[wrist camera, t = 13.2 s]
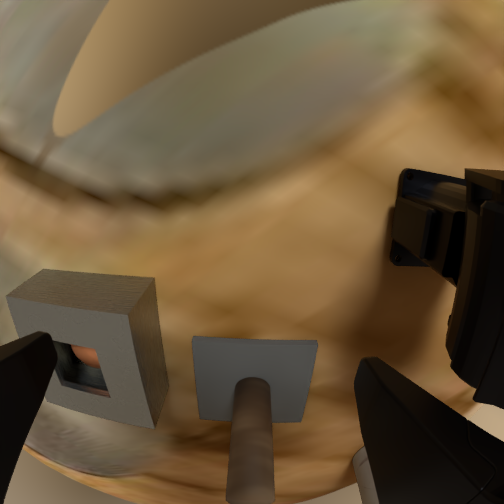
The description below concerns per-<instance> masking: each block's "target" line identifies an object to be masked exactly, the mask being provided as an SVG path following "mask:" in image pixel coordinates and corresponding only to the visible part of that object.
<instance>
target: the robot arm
mask: <svg viewBox="0 0 504 504" xmlns="http://www.w3.org/2000/svg"><path fill="white" fill-rule="evenodd" d="M408 173H410V175H411V177H410V179H407V174H408ZM391 237H392V238H393V240H392V246H391V252H390V261H391V262H392V263H393V264H394V265H396V266H424V267H431V268H432V269H434V270H435V271H436V272H437V273H439V274H440V275H441V276H442V277H444V278H445V279H446V280H447V281H449V282H450V283H451V284H452V285H454V286H455V287H456V293H455V298H454V303H453V308H452V313H451V315H450V316H449V319H448V330H447V334H446V345H445V346H446V348H447V351H448V354H449V356H450V359H451V360H452V361H451V364H450V367H451V369H452V370H453V371H454V372H455V373H456V374H457V375H458V377H459V378H461V379H462V380H463V381H464V382H466V383H467V384H468V385H470V386H471V387H473V388H475V389H476V391H475V394H474V396H473V400H474V401H475V402H479V403H484V404H490V405H494V406H497V407H499V408H502V409H504V171H500V170H485V169H467V168H465V179H461V178H456V177H452V176H447V175H442V174H437V173H432V172H427V171H421V170H416V169H410V168H405V169H404V170H403V171H402V173H401V179H400V189H399V197H398V198H397V200H396V205H395V213H394V220H393V227H392V233H391ZM397 255H399V258H398V259H397V260H395V258H396V256H397ZM57 361H58V354H57V351H56V348H55V346H54V343H53V340H52V337H51V335H50V334H49V333H47V332H43V331H37V332H34V333H32V334H29V335H27V336H24V337H22V338H19V339H17V340H15V341H12V342H10V343H7V344H5V345H2V346H0V504H3V503H4V499H5V496H6V493H7V490H8V486H9V483H10V480H11V477H12V475H13V472H14V469H15V466H16V463H17V461H18V458H19V455H20V453H21V450H22V448H23V445H24V443H25V440H26V438H27V435H28V433H29V431H30V428H31V426H32V424H33V421H34V419H35V417H36V415H37V412H38V410H39V408H40V406H41V403H42V401H43V399H44V396H45V394H46V391H47V388H48V385H49V382H50V380H51V377H52V374H53V372H54V369H55V367H56V364H57ZM354 390H355V396H356V402H357V409H358V415H359V422H360V428H361V434H362V438H363V442H364V445H365V449H366V453H367V457H368V461H369V464H370V468H371V472H372V476H373V480H374V484H375V488H376V493H377V497H378V501H379V504H504V442H503V441H501V440H499V439H498V438H496V437H494V436H493V435H491V434H489V433H488V432H486V431H484V430H483V429H481V428H480V427H478V426H476V425H475V424H474V423H472V422H471V421H469V420H467V419H466V418H465V417H463V416H462V415H460V414H459V413H457V412H456V411H454V410H453V409H452V408H450V407H449V406H447V405H446V404H444V403H443V402H441V401H440V400H438V399H437V398H435V397H434V396H432V395H431V394H430V393H428V392H427V391H425V390H424V389H422V388H421V387H419V386H418V385H417V384H415V383H414V382H412V381H411V380H409V379H408V378H406V377H405V376H404V375H402V374H401V373H399V372H398V371H396V370H395V369H393V368H392V367H391V366H389V365H388V364H386V363H385V362H383V361H382V360H381V359H379V358H378V357H364V358H362V359H361V361H360V364H359V367H358V370H357V373H356V377H355V380H354Z"/></svg>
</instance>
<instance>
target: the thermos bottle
mask: <svg viewBox="0 0 504 504" xmlns="http://www.w3.org/2000/svg"><path fill="white" fill-rule="evenodd" d="M353 467H354V471H355V475H356V479H357V483H358V486H359V491H360V495H361V499H362V503H363V504H379V501H378V497H377V493H376V488H375V484H374V480H373V476H372V472H371V468H370V464H369V461H368V457H367V453H366V449H365V446H364V447H363V448H361V449H360V450H359V451H358V452H357V453H356V454H355V456H354V458H353Z"/></svg>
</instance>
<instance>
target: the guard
mask: <svg viewBox="0 0 504 504" xmlns="http://www.w3.org/2000/svg"><path fill="white" fill-rule="evenodd" d="M6 299H7V303H8V306H9V309H10V312H11V316H12V319H13V322H14V325H15V328H16V330H17V333H18V336H19V338H22V337H24V336H27V335H29V334H32V333H34V332H37V331H43V332H47V333H49V334H50V335H51V337H52V340H53V343H54V346H55V348H56V351H57V354H58V361H57V364H56V367H55V369H54V372H53V374H52V377H51V380H50V382H49V385H48V388H47V391H46V394H45V398H46V400H47V402H50V403H53V404H56V405H59V406H62V407H65V408H68V409H71V410H75V411H78V412H81V413H85V414H88V415H92V416H96V417H100V418H104V419H108V420H112V421H116V422H121V423H125V424H130V425H135V426H140V427H145V428H151V429H155V427H156V424H157V421H158V418H159V415H160V412H161V408H162V405H163V402H164V399H165V396H166V393H167V390H168V387H169V383H168V377H167V371H166V365H165V359H164V353H163V346H162V339H161V332H160V324H159V317H158V308H157V299H156V290H155V279H154V278H150V277H135V276H121V275H107V274H95V273H82V272H71V271H60V270H49V269H42V270H41V271H40V272H38V273H37V274H35V275H34V276H32V277H31V278H29V279H28V280H27V281H25V282H24V283H23V284H21V285H20V286H18V287H17V288H16V289H14V290H13V291H12V292H10V293H9V294H8V295H6ZM69 344H72V345H77V346H82V347H87V348H92V349H95V351H96V354H97V357H98V361H99V364H100V367H101V368H94V367H91V366H88V365H84V364H80V363H76V362H75V360H74V357H73V355H72V352H71V348H70V345H69Z"/></svg>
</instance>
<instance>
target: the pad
mask: <svg viewBox="0 0 504 504" xmlns="http://www.w3.org/2000/svg"><path fill="white" fill-rule="evenodd" d="M317 348H318V343H317V340H259V339H234V338H216V337H201V336H193V339H192V349H193V360H194V371H195V381H196V390H197V399H198V408H199V416H200V419H205V420H217V421H232V416H233V404H234V393H235V386H236V384H237V382H239V381H240V380H242V379H244V378H247V377H257V378H261V379H263V380H265V381H266V382H268V384H269V385H270V391H271V413H272V423H288V422H301V421H302V417H303V413H304V408H305V404H306V400H307V396H308V391H309V387H310V382H311V377H312V373H313V368H314V363H315V358H316V353H317Z"/></svg>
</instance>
